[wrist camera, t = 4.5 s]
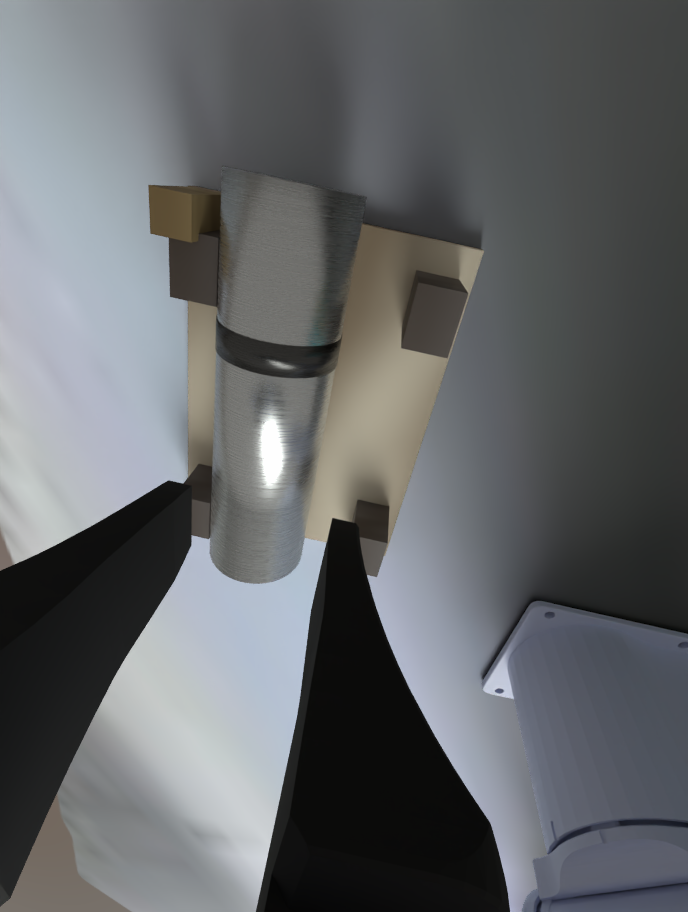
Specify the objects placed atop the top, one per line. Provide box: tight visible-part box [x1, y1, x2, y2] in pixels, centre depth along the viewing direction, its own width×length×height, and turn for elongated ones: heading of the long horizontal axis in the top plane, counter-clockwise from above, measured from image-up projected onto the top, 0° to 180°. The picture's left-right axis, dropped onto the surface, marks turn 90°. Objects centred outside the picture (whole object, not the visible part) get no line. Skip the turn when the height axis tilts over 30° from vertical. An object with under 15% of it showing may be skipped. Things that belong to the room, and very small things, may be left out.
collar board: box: [149, 185, 484, 577], centre depth 17 cm, size 10×14×4 cm
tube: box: [210, 166, 367, 584], centre depth 16 cm, size 14×4×4 cm
